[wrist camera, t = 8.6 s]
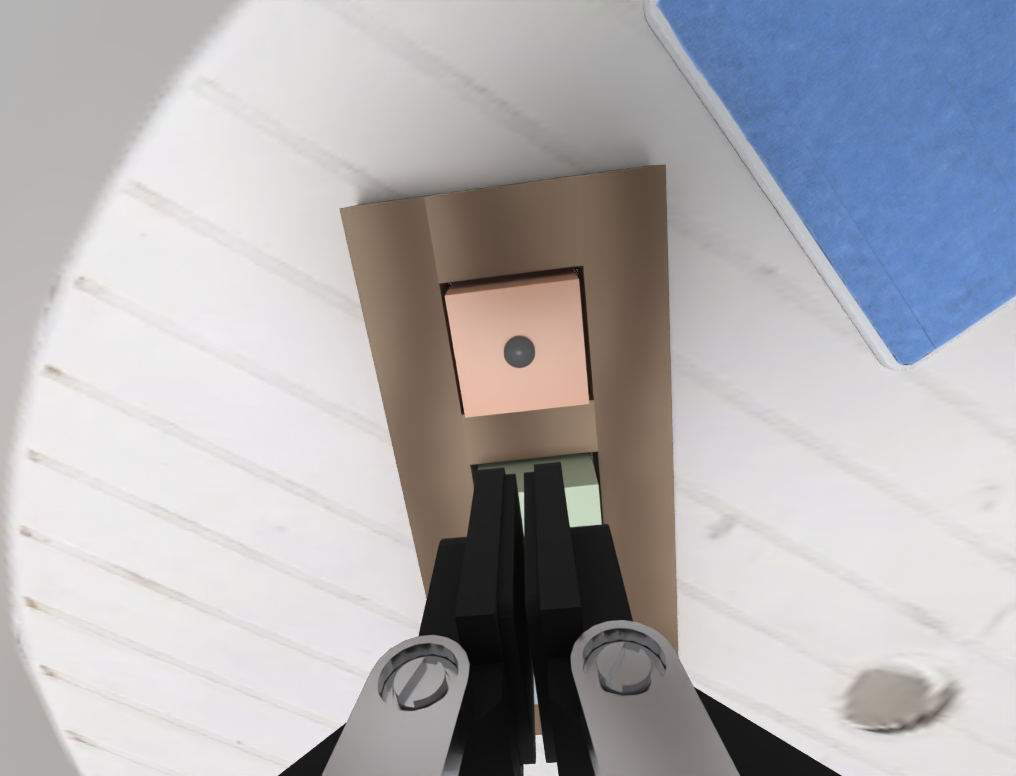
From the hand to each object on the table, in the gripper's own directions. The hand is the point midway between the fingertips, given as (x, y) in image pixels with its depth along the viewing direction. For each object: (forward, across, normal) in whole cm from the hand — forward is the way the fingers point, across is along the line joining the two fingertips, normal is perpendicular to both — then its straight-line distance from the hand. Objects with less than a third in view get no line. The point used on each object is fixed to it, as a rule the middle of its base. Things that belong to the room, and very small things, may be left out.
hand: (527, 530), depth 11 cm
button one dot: (+14, 0, 0) cm, 14 cm away
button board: (+15, 0, +8) cm, 17 cm away
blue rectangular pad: (+16, -16, -8) cm, 24 cm away
